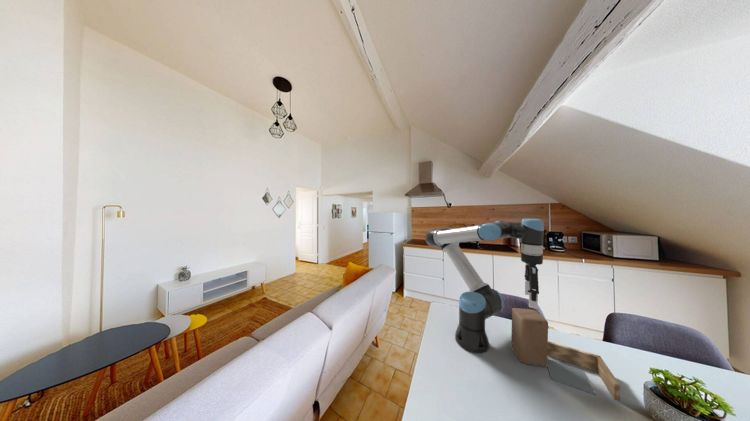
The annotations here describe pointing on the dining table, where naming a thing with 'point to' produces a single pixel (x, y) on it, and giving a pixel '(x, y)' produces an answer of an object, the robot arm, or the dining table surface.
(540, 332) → the wooden block
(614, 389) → the wooden angle piece
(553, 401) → the dining table surface
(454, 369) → the dining table surface
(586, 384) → the mat
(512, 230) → the robot arm
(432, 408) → the dining table surface
